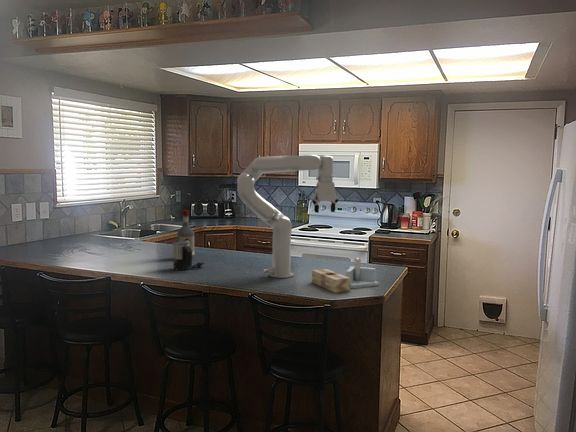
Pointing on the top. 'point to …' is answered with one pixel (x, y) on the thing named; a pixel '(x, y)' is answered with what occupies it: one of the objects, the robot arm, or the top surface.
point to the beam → (331, 280)
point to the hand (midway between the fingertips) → (324, 212)
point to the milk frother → (183, 256)
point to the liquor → (186, 232)
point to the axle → (357, 269)
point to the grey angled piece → (362, 277)
